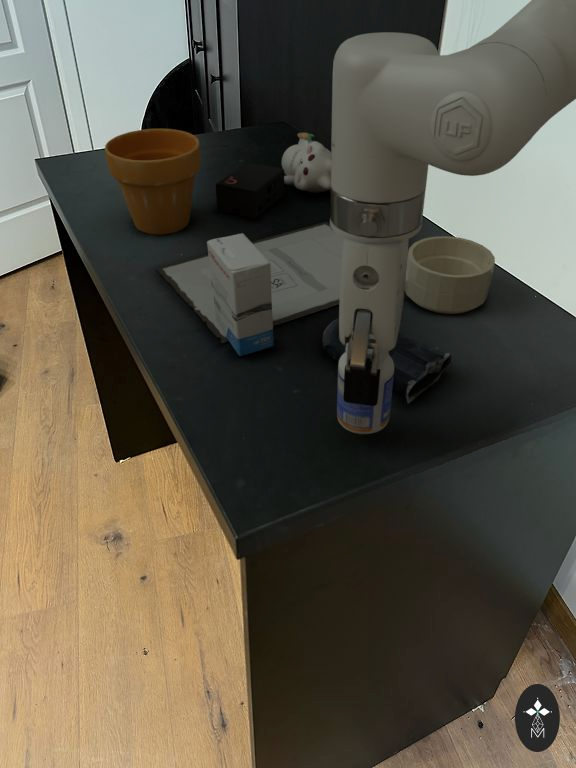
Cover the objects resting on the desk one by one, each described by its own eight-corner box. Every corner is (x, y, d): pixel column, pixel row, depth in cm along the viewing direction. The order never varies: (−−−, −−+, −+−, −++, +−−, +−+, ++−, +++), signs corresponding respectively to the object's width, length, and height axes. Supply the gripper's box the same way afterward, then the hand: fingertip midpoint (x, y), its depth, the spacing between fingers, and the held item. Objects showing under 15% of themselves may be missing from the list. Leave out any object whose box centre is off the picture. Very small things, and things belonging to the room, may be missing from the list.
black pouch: (450, 377, 78) (355, 315, 85) (460, 345, 74) (359, 282, 80) (402, 422, 74) (306, 353, 80) (410, 391, 70) (307, 321, 76)
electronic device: (284, 196, 116) (284, 168, 112) (256, 220, 108) (255, 191, 105) (247, 189, 118) (246, 161, 115) (217, 211, 111) (215, 183, 107)
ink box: (275, 348, 80) (274, 262, 72) (236, 358, 78) (231, 272, 71) (248, 312, 86) (245, 230, 78) (212, 321, 84) (205, 238, 77)
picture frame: (221, 344, 81) (411, 280, 93) (221, 342, 81) (411, 278, 93) (154, 269, 95) (326, 222, 107) (154, 267, 95) (326, 220, 107)
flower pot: (219, 232, 105) (213, 151, 96) (132, 250, 100) (118, 166, 92) (189, 199, 115) (181, 123, 106) (109, 214, 110) (94, 136, 102)
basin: (485, 279, 93) (494, 240, 90) (486, 321, 85) (495, 281, 81) (407, 270, 95) (412, 232, 92) (399, 311, 87) (404, 271, 83)
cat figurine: (283, 123, 118) (330, 137, 107) (315, 140, 123) (364, 155, 112) (262, 174, 120) (307, 193, 109) (295, 189, 125) (341, 208, 114)
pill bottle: (371, 395, 70) (377, 318, 64) (399, 425, 66) (408, 347, 60) (326, 411, 68) (328, 333, 62) (353, 442, 64) (357, 363, 58)
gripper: (414, 260, 46) (394, 447, 57) (430, 171, 59) (410, 338, 70) (309, 251, 47) (309, 435, 58) (347, 166, 60) (341, 330, 71)
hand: (365, 380), depth 64 cm, fingers closed on pill bottle, 5 cm apart
